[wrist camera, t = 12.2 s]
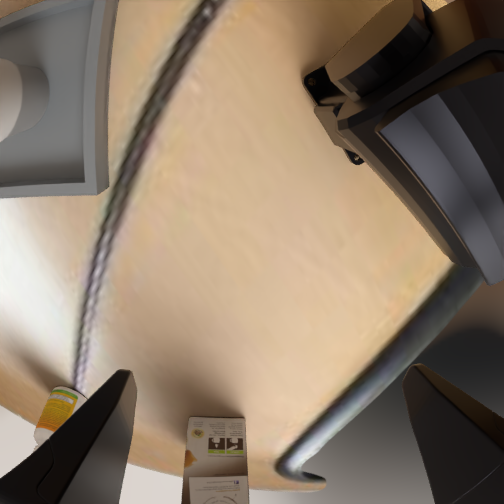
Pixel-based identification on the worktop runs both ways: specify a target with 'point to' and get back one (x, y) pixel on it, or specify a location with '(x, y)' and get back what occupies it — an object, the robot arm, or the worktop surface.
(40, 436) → the supplement bottle
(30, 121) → the cup
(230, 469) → the coffee box
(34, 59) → the tray
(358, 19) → the worktop surface
